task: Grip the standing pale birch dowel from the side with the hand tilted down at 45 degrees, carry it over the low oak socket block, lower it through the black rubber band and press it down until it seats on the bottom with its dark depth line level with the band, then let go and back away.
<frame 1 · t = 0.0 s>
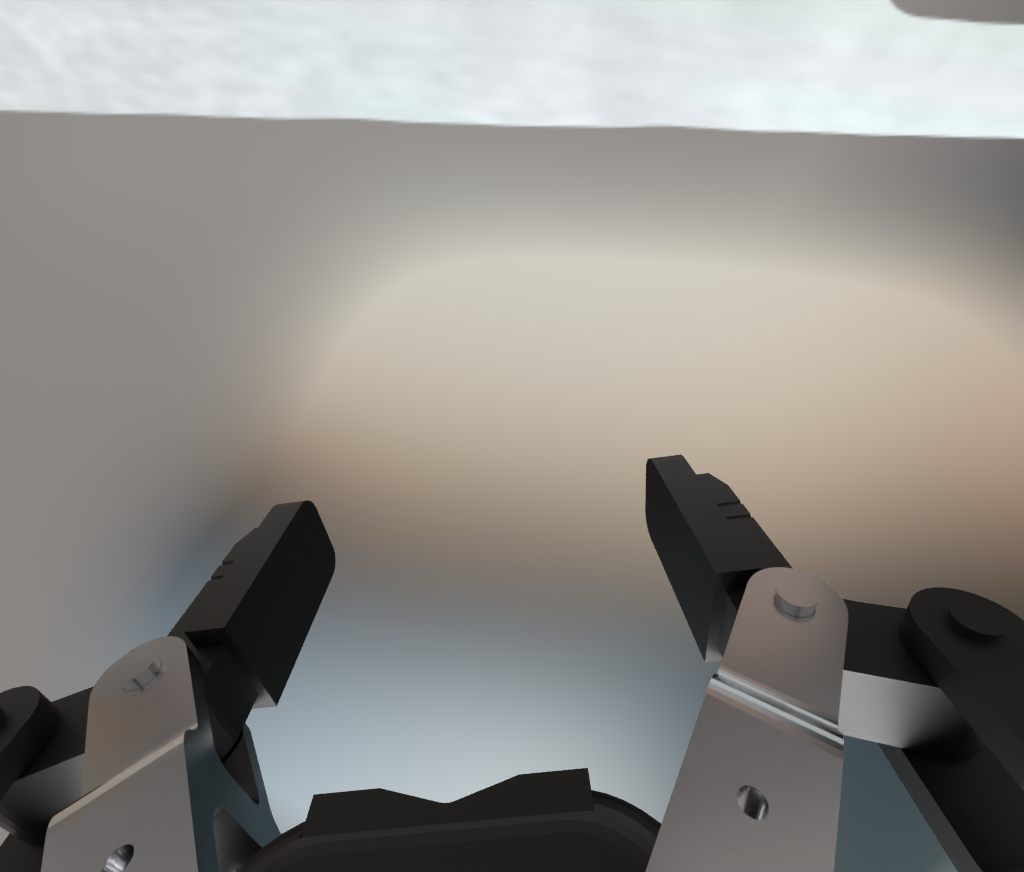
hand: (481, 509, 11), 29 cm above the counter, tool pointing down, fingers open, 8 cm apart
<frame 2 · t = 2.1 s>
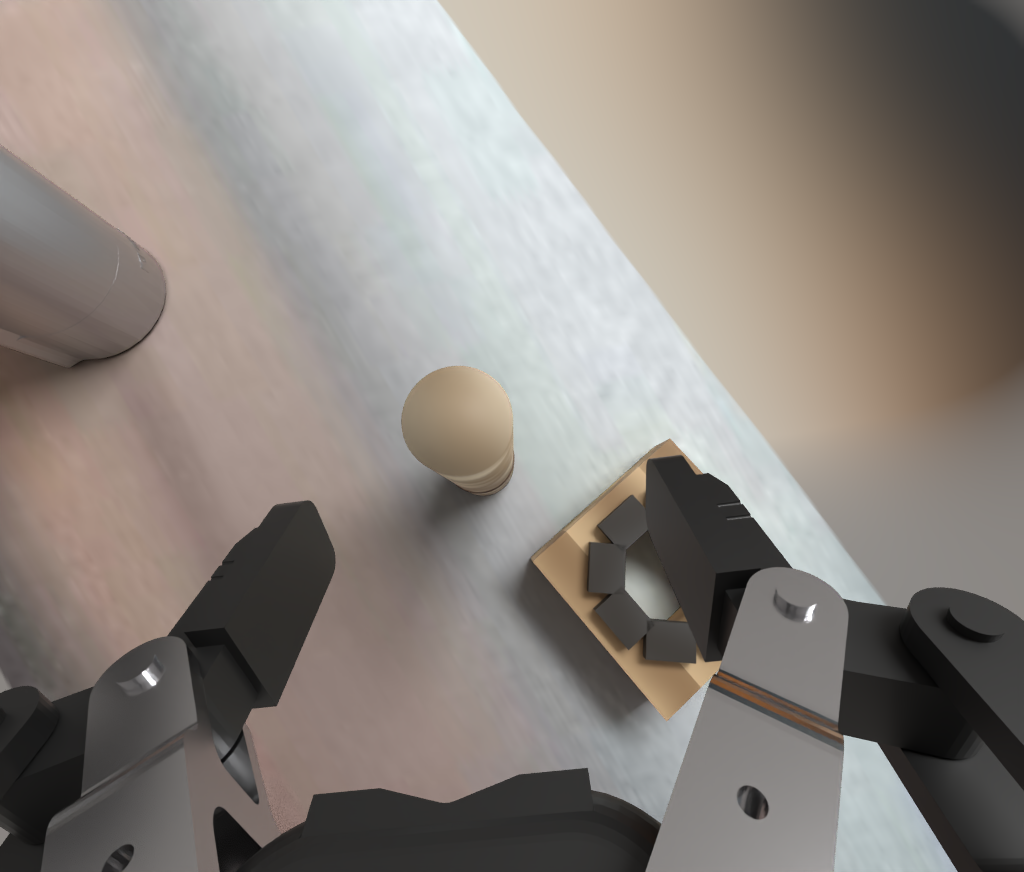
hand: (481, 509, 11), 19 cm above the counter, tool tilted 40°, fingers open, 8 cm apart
dowel: (483, 465, 30), on the counter
socket: (652, 566, 29), on the counter
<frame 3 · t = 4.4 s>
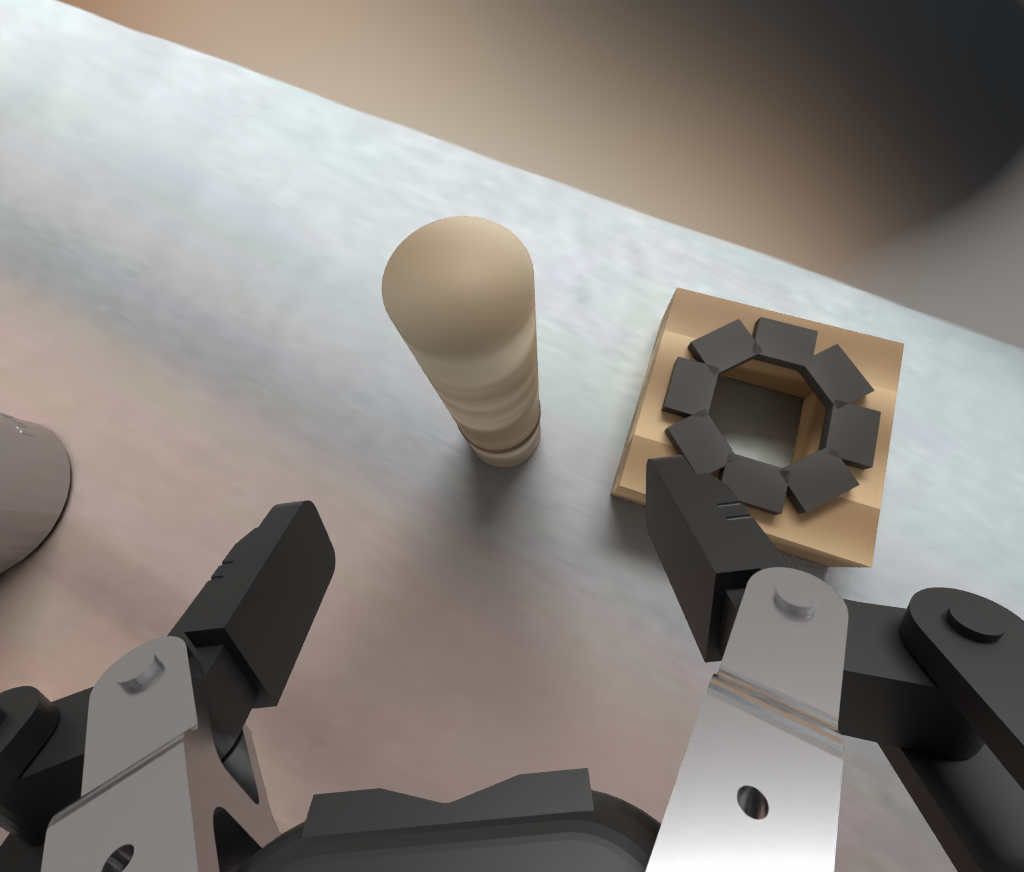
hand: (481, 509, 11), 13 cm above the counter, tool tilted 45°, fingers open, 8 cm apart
dowel: (504, 432, 25), on the counter
socket: (738, 431, 24), on the counter
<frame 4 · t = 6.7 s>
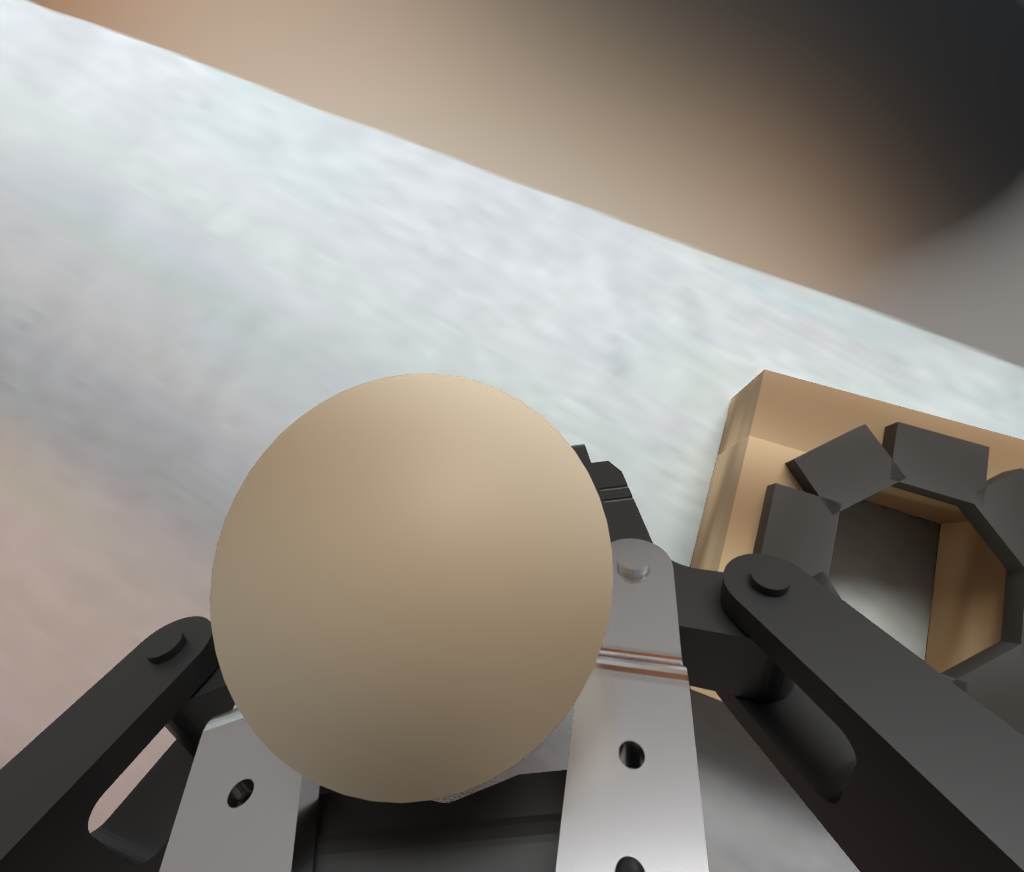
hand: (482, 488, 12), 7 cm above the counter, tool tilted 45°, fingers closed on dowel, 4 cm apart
dowel: (512, 564, 18), on the counter, touching gripper
socket: (848, 572, 17), on the counter
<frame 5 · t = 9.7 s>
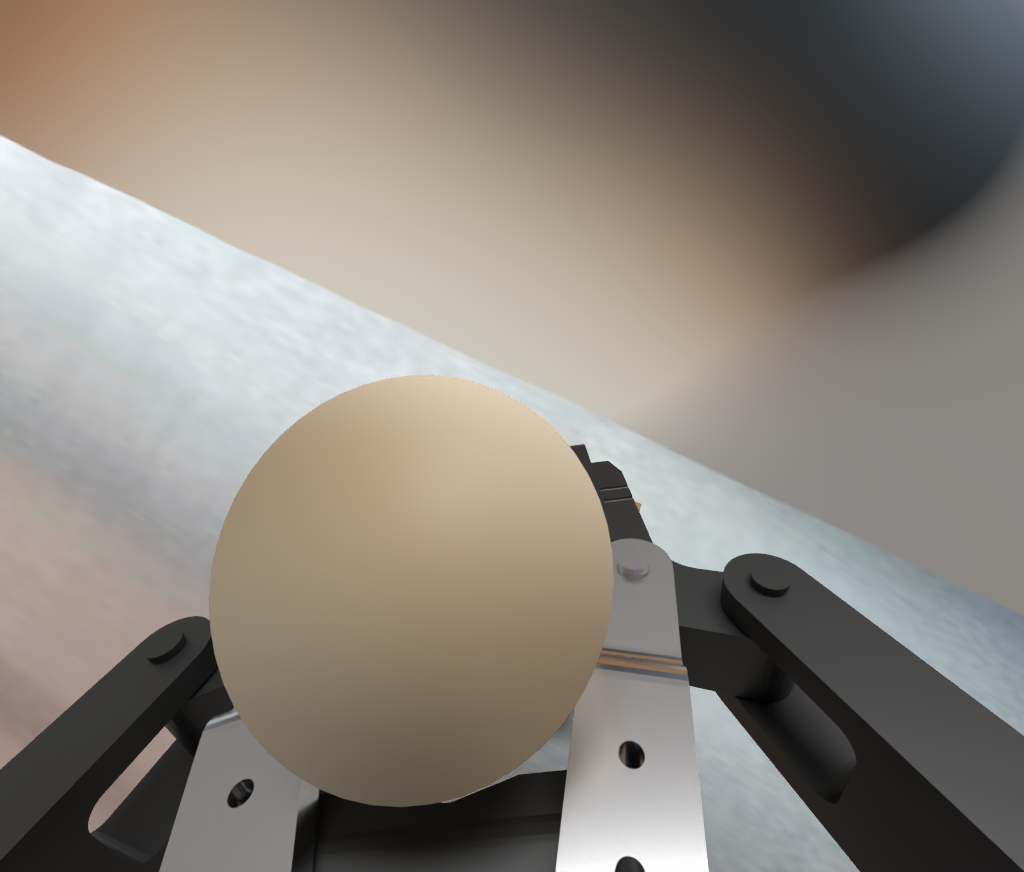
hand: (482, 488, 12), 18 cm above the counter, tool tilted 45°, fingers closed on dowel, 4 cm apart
dowel: (512, 565, 18), point 11 cm above the counter, touching gripper
when the fingers open (7 cm above the counter, at t = 13.0 s): dowel stays where it is, resting in socket.
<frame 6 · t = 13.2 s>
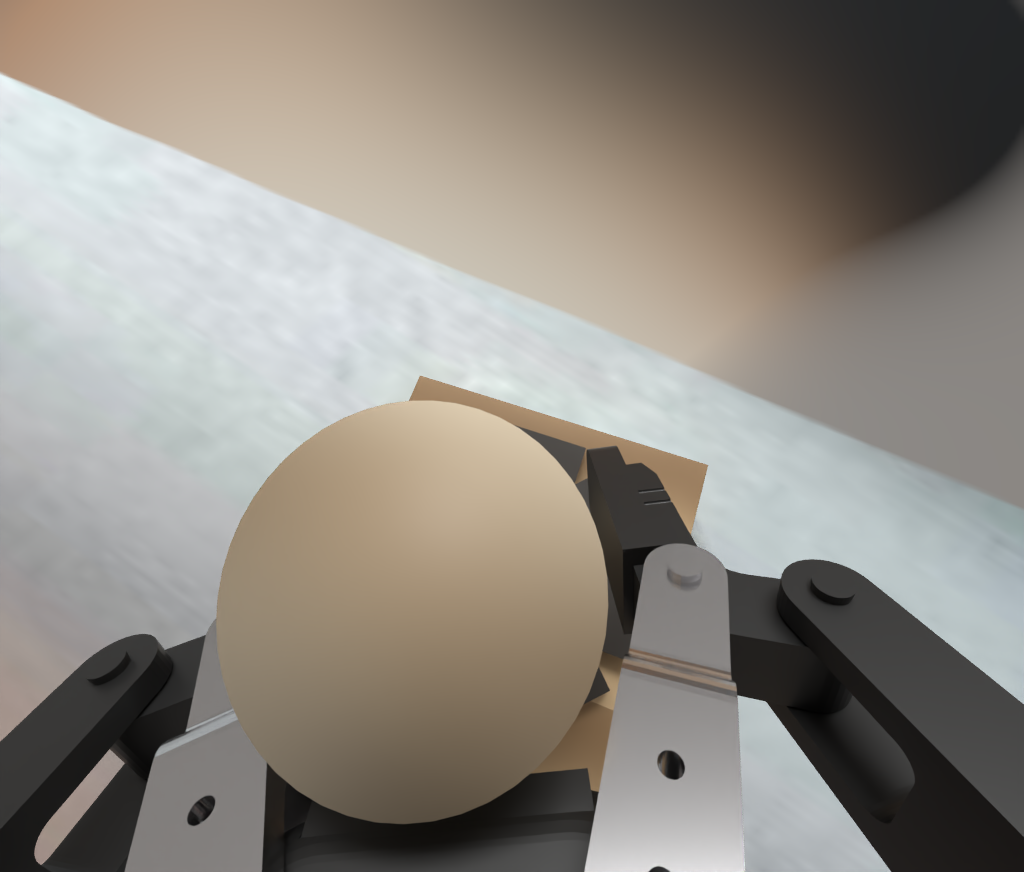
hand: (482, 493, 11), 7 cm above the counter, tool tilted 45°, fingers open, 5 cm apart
dowel: (512, 567, 18), resting in socket
socket: (512, 564, 18), on the counter
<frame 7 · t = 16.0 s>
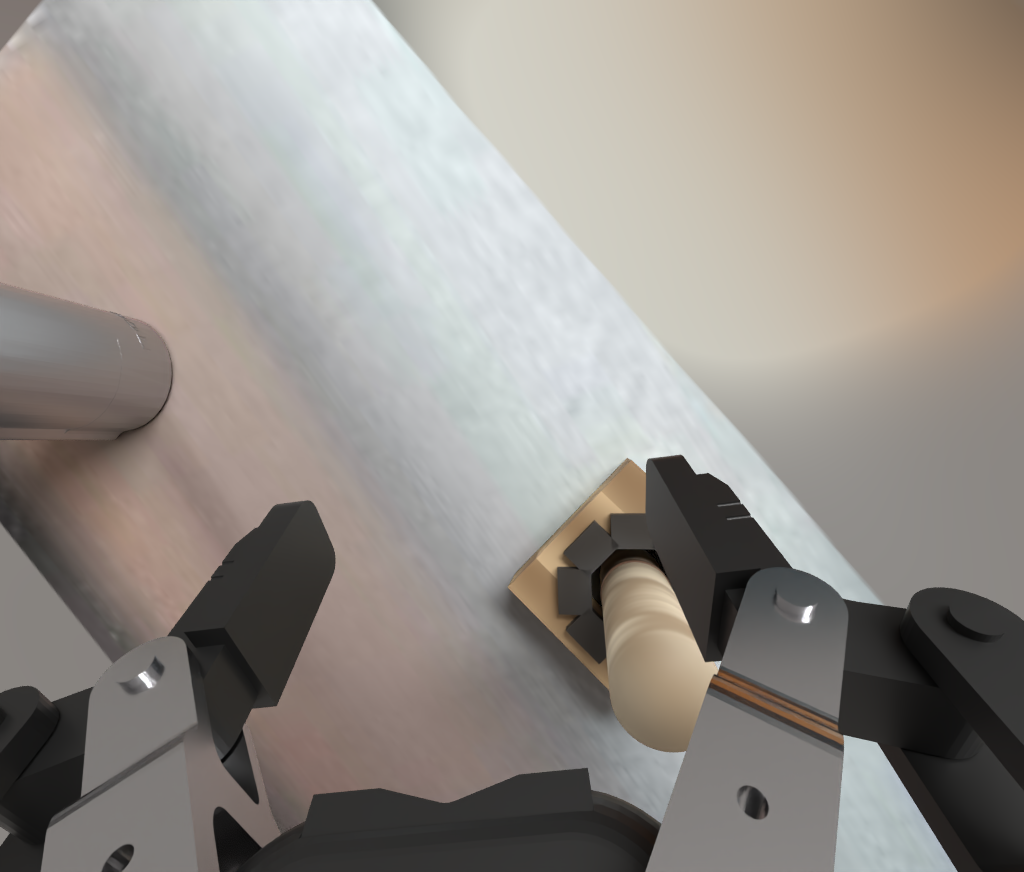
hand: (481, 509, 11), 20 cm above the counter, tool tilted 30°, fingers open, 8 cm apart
dowel: (630, 577, 30), resting in socket
socket: (631, 575, 30), on the counter
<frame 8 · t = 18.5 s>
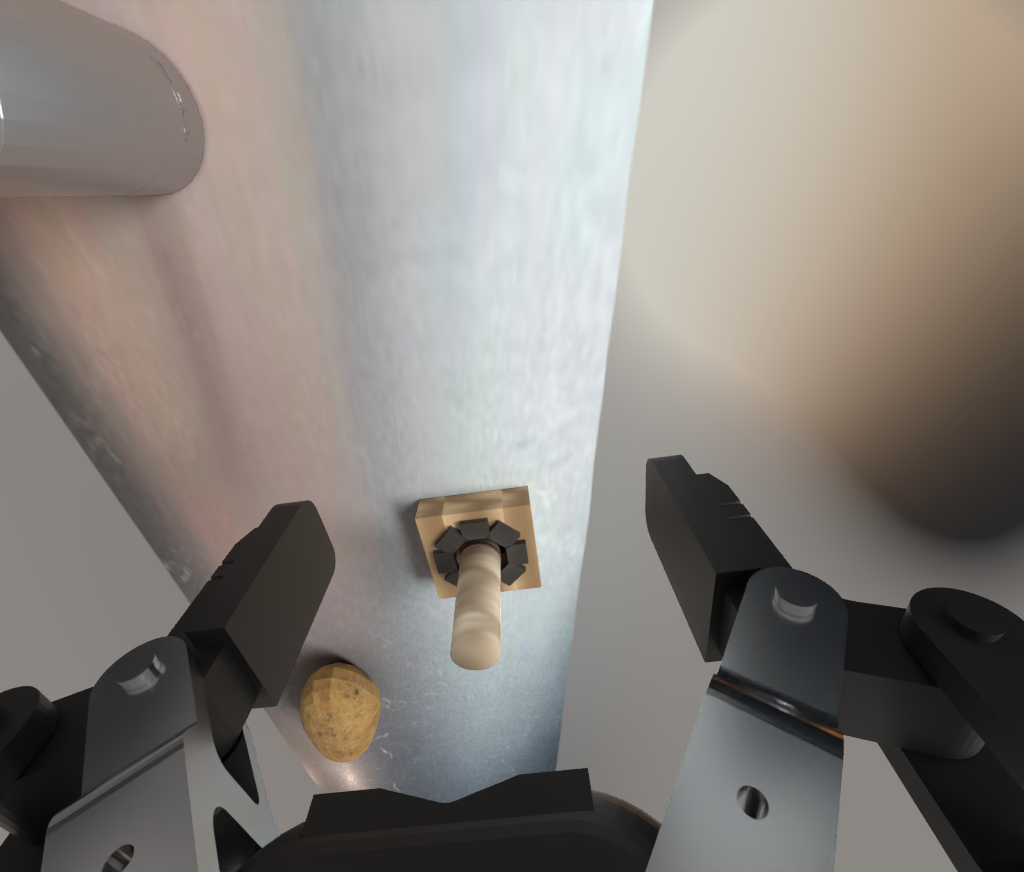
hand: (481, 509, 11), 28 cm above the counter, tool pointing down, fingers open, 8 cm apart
potato: (350, 673, 59), on the counter
dowel: (481, 534, 48), resting in socket
socket: (482, 534, 48), on the counter
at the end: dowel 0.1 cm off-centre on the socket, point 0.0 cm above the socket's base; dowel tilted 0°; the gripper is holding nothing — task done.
